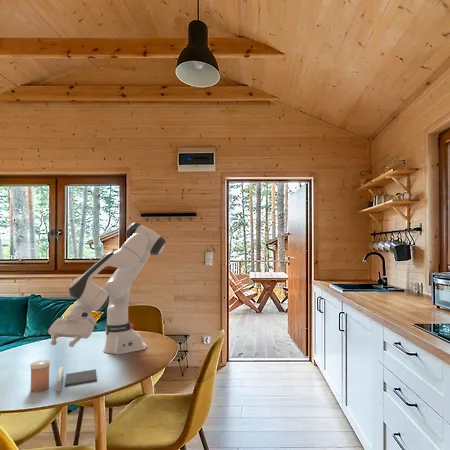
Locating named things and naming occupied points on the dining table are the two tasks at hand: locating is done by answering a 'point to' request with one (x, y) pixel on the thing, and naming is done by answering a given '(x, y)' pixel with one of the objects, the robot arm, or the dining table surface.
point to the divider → (59, 379)
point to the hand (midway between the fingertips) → (61, 345)
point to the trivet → (80, 377)
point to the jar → (40, 375)
